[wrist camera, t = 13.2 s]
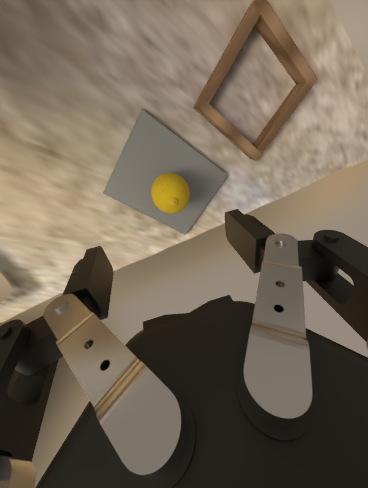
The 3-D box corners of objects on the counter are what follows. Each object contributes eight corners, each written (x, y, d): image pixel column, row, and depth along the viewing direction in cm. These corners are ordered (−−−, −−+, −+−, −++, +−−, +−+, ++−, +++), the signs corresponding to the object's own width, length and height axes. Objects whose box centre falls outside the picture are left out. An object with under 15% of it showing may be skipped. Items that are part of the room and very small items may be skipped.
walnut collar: (193, 107, 27) (196, 106, 25) (252, 1, 22) (261, -9, 21) (250, 158, 32) (256, 160, 30) (306, 81, 28) (317, 78, 26)
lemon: (177, 205, 33) (186, 226, 26) (146, 196, 31) (147, 216, 24) (188, 174, 30) (202, 188, 24) (155, 162, 28) (160, 173, 22)
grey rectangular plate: (103, 191, 30) (103, 193, 29) (141, 109, 25) (142, 109, 25) (184, 232, 37) (185, 234, 36) (225, 173, 32) (227, 175, 32)
